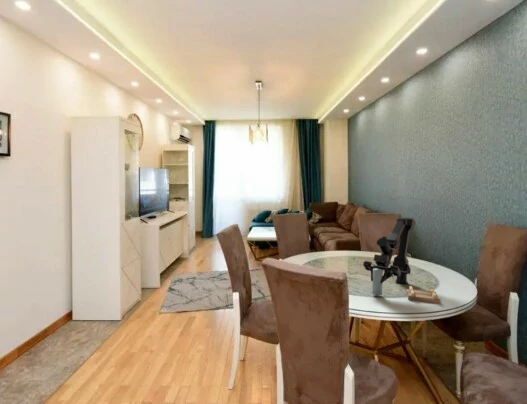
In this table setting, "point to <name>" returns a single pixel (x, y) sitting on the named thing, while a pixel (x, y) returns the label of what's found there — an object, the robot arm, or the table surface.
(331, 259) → the table surface
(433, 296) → the display plinth
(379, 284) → the spectacles tube
